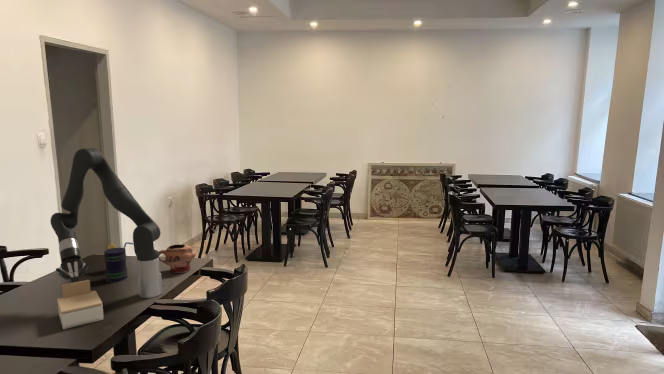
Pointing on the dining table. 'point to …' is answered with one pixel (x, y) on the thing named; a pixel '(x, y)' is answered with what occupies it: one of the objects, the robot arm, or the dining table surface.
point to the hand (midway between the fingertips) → (75, 286)
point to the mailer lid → (78, 297)
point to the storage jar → (115, 264)
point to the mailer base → (81, 316)
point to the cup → (115, 247)
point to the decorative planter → (178, 257)
